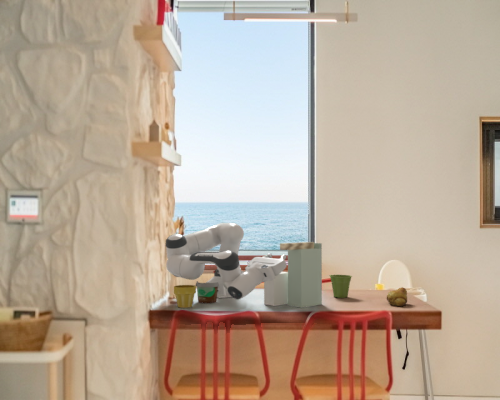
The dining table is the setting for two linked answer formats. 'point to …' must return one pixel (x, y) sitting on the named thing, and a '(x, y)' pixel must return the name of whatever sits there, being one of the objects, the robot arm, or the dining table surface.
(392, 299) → the bread roll
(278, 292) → the block
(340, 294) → the plant pot
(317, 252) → the pale green block
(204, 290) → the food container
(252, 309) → the dining table surface
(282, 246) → the rail
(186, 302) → the plant pot
